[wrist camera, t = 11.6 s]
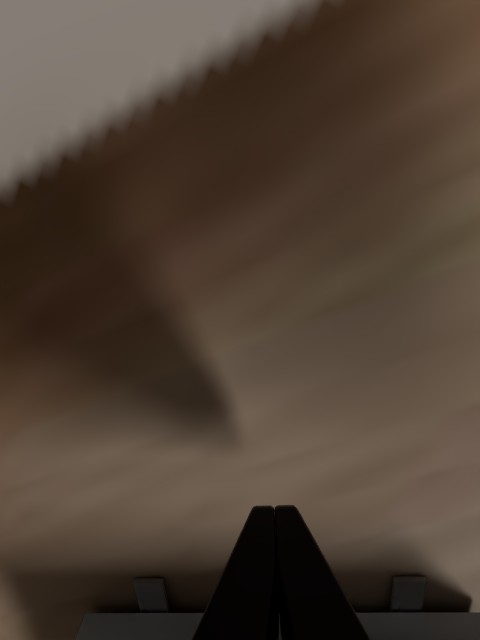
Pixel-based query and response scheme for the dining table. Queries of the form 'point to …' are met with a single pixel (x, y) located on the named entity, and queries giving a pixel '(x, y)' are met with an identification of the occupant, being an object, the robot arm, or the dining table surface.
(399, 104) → the dining table surface
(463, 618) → the tray
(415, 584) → the rails
